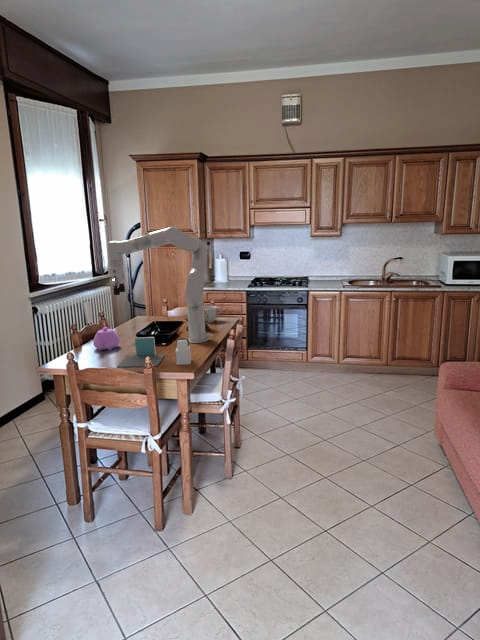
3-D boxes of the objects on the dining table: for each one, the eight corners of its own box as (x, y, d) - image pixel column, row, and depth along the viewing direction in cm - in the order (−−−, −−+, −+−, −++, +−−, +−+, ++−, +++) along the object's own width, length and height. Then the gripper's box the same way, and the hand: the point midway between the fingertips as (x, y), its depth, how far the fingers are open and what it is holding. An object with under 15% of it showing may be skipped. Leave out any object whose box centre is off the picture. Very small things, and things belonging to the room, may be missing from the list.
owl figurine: (180, 331, 283) (179, 304, 279) (190, 326, 293) (188, 301, 290) (205, 333, 275) (203, 306, 272) (214, 328, 286) (213, 302, 282)
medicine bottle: (177, 360, 223) (175, 337, 221) (191, 359, 224) (189, 337, 221) (176, 365, 216) (174, 341, 214) (190, 364, 217) (189, 340, 214)
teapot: (111, 354, 238) (109, 332, 236) (86, 354, 240) (83, 332, 238) (125, 343, 258) (123, 323, 255) (102, 343, 260) (99, 323, 257)
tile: (155, 355, 234) (154, 336, 232) (155, 356, 233) (153, 337, 230) (137, 355, 234) (135, 337, 232) (136, 356, 233) (134, 338, 231)
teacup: (221, 323, 300) (221, 308, 297) (199, 323, 300) (199, 309, 298) (222, 319, 311) (222, 305, 309) (201, 319, 312) (200, 305, 309)
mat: (164, 355, 232) (164, 354, 232) (157, 366, 215) (157, 365, 215) (126, 356, 233) (126, 355, 232) (117, 367, 216) (117, 366, 216)
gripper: (118, 264, 239) (121, 295, 243) (127, 261, 256) (130, 290, 260) (104, 265, 239) (108, 296, 243) (114, 262, 256) (117, 291, 260)
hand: (119, 293), depth 252 cm, fingers open, 9 cm apart
